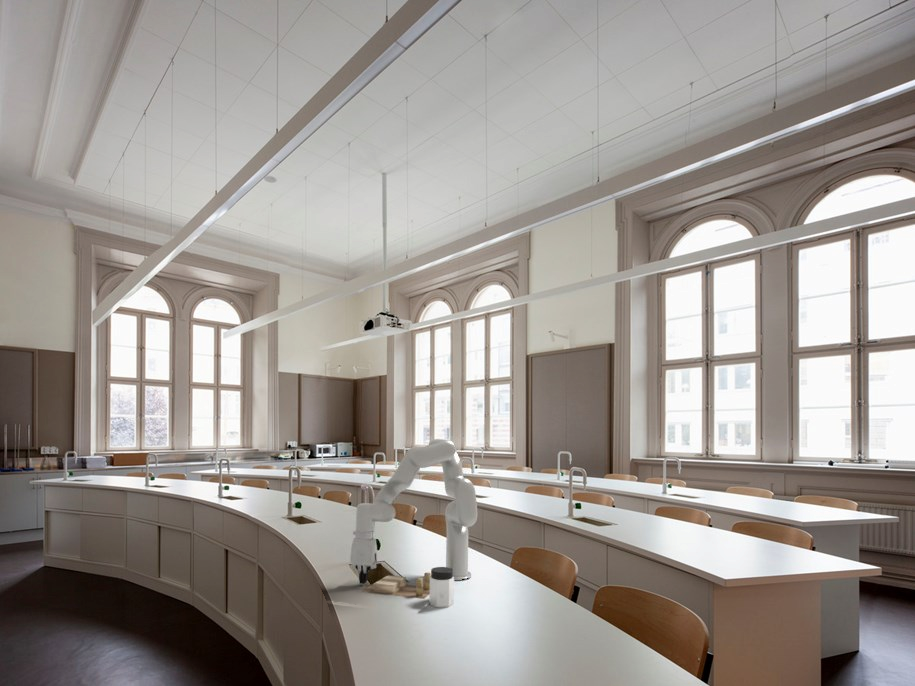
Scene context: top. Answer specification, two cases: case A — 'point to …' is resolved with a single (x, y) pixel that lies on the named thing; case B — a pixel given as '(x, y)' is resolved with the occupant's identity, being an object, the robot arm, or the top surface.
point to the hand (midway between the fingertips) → (363, 582)
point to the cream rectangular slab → (389, 584)
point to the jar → (441, 587)
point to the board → (410, 588)
